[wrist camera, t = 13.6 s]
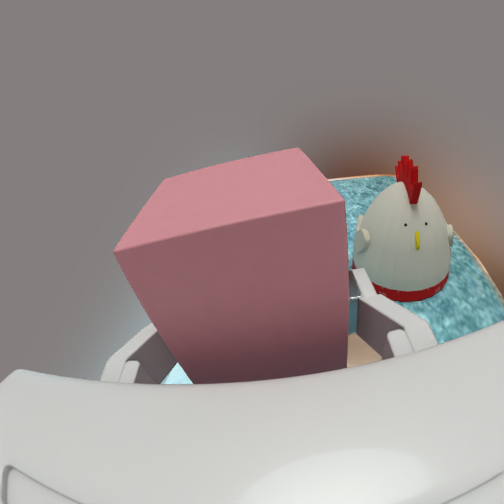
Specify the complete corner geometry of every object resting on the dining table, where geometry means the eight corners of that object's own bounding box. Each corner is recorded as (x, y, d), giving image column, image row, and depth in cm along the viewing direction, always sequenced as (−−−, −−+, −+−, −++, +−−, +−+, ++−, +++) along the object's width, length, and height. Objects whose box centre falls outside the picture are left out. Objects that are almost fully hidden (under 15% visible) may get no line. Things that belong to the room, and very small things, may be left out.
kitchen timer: (356, 305, 32) (355, 181, 24) (349, 241, 43) (342, 145, 35) (461, 296, 28) (485, 179, 20) (431, 236, 39) (437, 143, 31)
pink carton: (238, 440, 12) (111, 251, 6) (237, 362, 16) (163, 179, 10) (342, 424, 11) (345, 199, 5) (323, 346, 15) (299, 146, 10)
